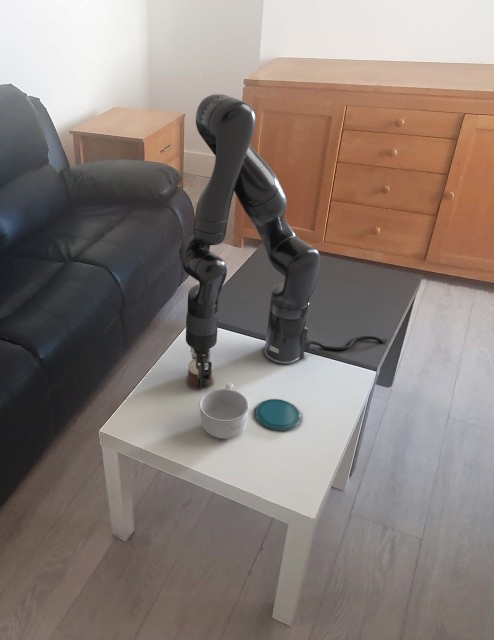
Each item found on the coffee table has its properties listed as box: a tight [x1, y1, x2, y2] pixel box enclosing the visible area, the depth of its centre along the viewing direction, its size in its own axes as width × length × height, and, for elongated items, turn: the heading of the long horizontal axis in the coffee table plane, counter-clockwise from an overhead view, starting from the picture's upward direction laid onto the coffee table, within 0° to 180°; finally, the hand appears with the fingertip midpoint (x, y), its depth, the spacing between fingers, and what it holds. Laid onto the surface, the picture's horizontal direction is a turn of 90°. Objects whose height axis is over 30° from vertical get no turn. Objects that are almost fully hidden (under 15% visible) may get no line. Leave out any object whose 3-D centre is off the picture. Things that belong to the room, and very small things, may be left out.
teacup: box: [198, 382, 249, 439], centre depth 136 cm, size 14×11×8 cm
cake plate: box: [255, 398, 301, 432], centre depth 140 cm, size 10×10×1 cm
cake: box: [187, 359, 213, 389], centre depth 151 cm, size 6×6×5 cm
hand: (199, 379), depth 152 cm, fingers closed on cake, 6 cm apart
